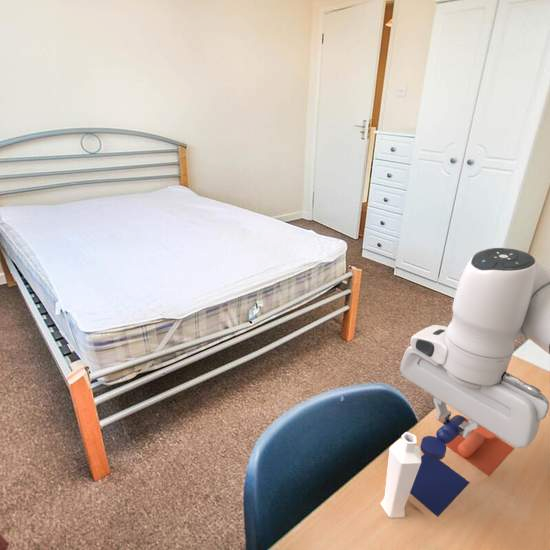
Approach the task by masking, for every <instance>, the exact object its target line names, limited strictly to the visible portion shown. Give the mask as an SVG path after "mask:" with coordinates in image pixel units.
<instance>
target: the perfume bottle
mask: <svg viewBox="0 0 550 550" xmlns="http://www.w3.org/2000/svg"><path fill="white" fill-rule="evenodd" d="M417 439H418V438H417V435H415V434H413V433H412V432H409V431H405V432H404V433H403V434H401V437H400V438H399V439H398V440H396V441H395V442H394V443H393V444H391V445H390V446H389V449H388V459H387V460H388V461H387V468H386V476H385V477H386V478H385V487H384V488H385V489H384V497H383V499H382V500H381V501H380V506H381V508H382V509H383V510H384V512H385V513H386V516H388V518H391V519H393V518H394V519H395V518H405V517H406V515H405V514H406V510H405V507H406V504H407V501H408V499H409V497H410V495H411V494H410V491H411V488H412V486H413V483H414V480H415V478H416V475H417V472H418V470H419V467H420V465H421V456H422V453H421V448H420V447H419V445H416V444H417V443H418V440H417Z"/></svg>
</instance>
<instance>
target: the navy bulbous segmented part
mask: <svg viewBox="0 0 550 550" xmlns="http://www.w3.org/2000/svg"><path fill="white" fill-rule="evenodd" d="M463 416H464V415H462V414H461V415H460V414H457V415H454V416H452V417H450V419H449V421H448V422H446V423H445V424H443V425H442V426H440V427H439V428H438V429H437V430H436V433H435V436H433V435H426V436H424V437H422V439H421V441H420V452H422V455H425V456H427V457H428V458H431V459H434V460H440V461H441V460H442V459H444V458H445V457H446V453H447V446H446V445H445V444H448V443H450V442H451V441H453V440H454V439H455V438H456V437H457V436H458V435H459V434H458V433H457V431H458V427H459V425H460V424H462V423H463V422H464V421H466V422H467V420H466V419H465V418H466V417H465V416H464V417H465V418H464V417H463Z"/></svg>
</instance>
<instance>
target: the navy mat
mask: <svg viewBox="0 0 550 550" xmlns="http://www.w3.org/2000/svg"><path fill="white" fill-rule="evenodd" d="M469 484H470V481H469V480H467V479H466V478H465V477H463V476H462V475H461V474H459V473H458V472H457V471H455V470H454V469H452V468H451V467H450V466H449V465H447V464H446V463H445V462H443V461H442V460H441V459H440V460H434V459H431V458H428V457H427V456H425V455H424V454H422V455H421V465H420V467H419V470H418V472H417V475H416V478H415V480H414V483H413V486H412V488H411V491H410V494H409V495H412V497H414V498H415V499H416V500H417V501H418V502H419V503H420V504H421V505H423V506H424V507H425V508H426V509H428V510H429V511H430V512H431V513H432V514H434V516H435V517H437V518H438V517H439V516H440V515H441V514H442V513H443V512H444V511H445V510H446V509H447V508H448V507H449V505H451V504H452V502H453V501H454V500H455V499H456V498H457V497H458V496H459V495H460V494H461V493H462V492H463V491H464V490H465V489H466V487H468V485H469Z"/></svg>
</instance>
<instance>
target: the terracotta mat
mask: <svg viewBox="0 0 550 550" xmlns="http://www.w3.org/2000/svg"><path fill="white" fill-rule="evenodd" d="M462 416H463V417H464V418H465V419H466V420H467V423H469V422H468V421H469V418H468V417H466V416H465V415H462ZM469 424H470V423H469ZM472 432H473V430H472ZM472 432H471V433H472ZM464 440H465V438H463V437H462V436H461V435H458V436H457V437H456V438H455V439H454V440H453V441H451V442H450V443H448V444H445V445H446V448H448V449H450V450H451V451H452V452H454V453H455V454H457V455H458V456H459V457H461V458H462V459H464V460H465V461H466V462H468V463H469V464H471V465H472V466H473V467H475V468H477V470H479V471H480V472H482V473H483V474H485V475H486V476H488V477H490V476H491V475H492V474H493V473H494V472H495V471H496V470H497V469H498V467H500V465H501V464H502V463H503V462H504V460H505V459H507V457H508V456H509V455H510V454H511V453H512V451H514V449H515V447H514V446H512V445H511V444H509V443H508V442H506V441H504V440H503V439H501V438H500V437H498V436H495V437H494V440H493V441H492V442H490V443H486V442H484V443H483V444H482V445H481V446H480V447H479V448H478V449H477V450H476V451H475V452H474V453H473V454H472V455H471V456H469V457H463V456H461V455H460V454H459V452H458V446H459V444H460V443H461V442H463V441H464Z"/></svg>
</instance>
